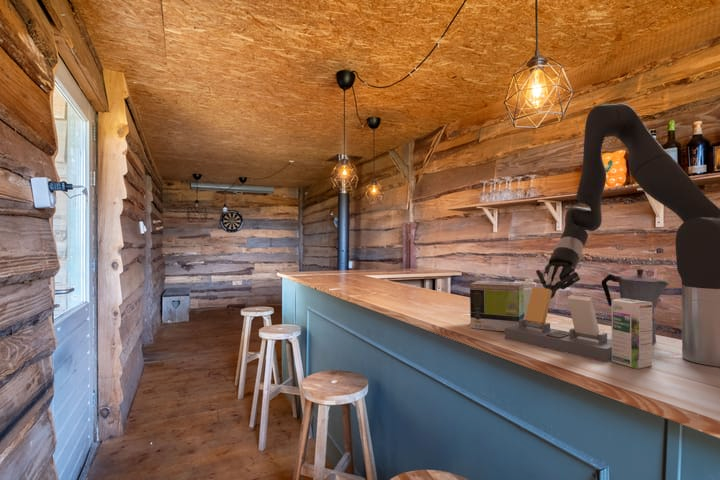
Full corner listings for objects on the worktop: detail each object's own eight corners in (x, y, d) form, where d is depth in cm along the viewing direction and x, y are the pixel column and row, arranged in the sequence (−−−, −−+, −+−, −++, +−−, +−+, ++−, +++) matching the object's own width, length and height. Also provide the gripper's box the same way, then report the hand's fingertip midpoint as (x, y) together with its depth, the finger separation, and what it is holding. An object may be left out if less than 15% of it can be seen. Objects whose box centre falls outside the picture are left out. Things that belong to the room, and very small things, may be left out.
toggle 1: (544, 330, 104) (552, 290, 107) (541, 328, 103) (549, 288, 106) (526, 326, 108) (534, 289, 111) (523, 325, 107) (532, 287, 110)
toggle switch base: (623, 353, 92) (623, 332, 92) (606, 361, 86) (606, 339, 86) (523, 333, 113) (523, 316, 113) (504, 338, 107) (504, 320, 107)
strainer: (541, 324, 125) (540, 279, 125) (525, 326, 122) (525, 280, 122) (524, 320, 131) (523, 277, 131) (509, 322, 128) (508, 278, 128)
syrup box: (610, 361, 87) (609, 299, 87) (627, 358, 89) (627, 297, 89) (636, 369, 81) (635, 303, 81) (654, 366, 83) (653, 301, 83)
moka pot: (670, 348, 96) (670, 271, 96) (600, 339, 106) (599, 268, 106) (668, 340, 104) (668, 268, 104) (603, 332, 113) (602, 266, 113)
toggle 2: (601, 337, 93) (592, 297, 90) (598, 341, 92) (589, 300, 89) (578, 333, 97) (569, 295, 94) (576, 337, 96) (566, 298, 93)
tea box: (525, 327, 121) (524, 282, 121) (519, 334, 112) (519, 285, 112) (477, 322, 129) (477, 279, 129) (469, 328, 120) (469, 282, 120)
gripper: (541, 246, 121) (520, 287, 114) (585, 246, 110) (565, 291, 103) (549, 261, 124) (530, 302, 117) (593, 263, 113) (574, 308, 106)
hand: (547, 297), depth 110 cm, fingers closed
